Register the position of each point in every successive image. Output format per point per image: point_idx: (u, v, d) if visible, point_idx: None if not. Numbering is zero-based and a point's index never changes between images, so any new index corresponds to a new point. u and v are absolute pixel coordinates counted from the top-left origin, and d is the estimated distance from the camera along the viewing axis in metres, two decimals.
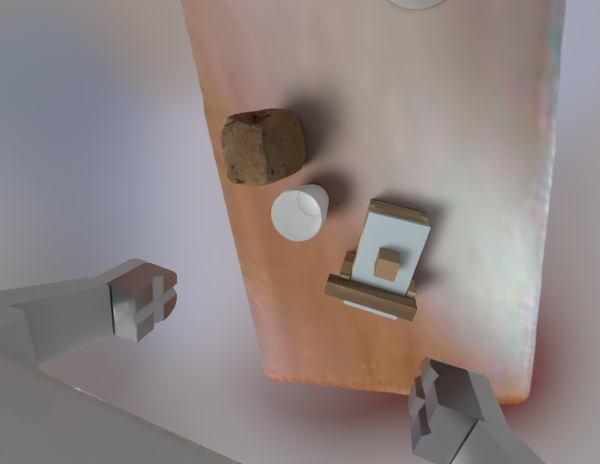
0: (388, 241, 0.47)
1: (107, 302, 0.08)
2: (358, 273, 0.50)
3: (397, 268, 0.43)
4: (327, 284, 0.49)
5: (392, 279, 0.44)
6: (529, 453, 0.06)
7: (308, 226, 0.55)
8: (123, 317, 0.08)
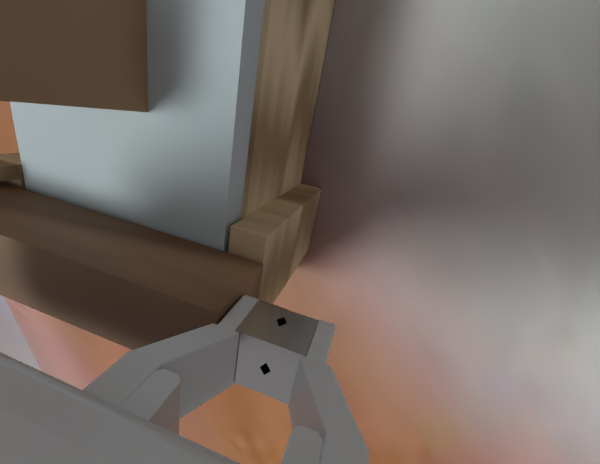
0: None
1: (236, 351, 0.07)
2: (39, 156, 0.12)
3: None
4: None
5: None
6: (329, 379, 0.06)
7: None
8: (249, 366, 0.07)
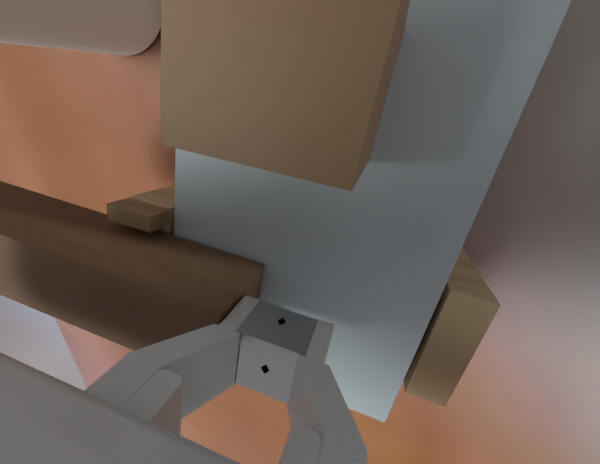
0: None
1: (237, 351, 0.07)
2: (200, 202, 0.10)
3: None
4: None
5: (328, 163, 0.04)
6: (328, 378, 0.06)
7: (63, 46, 0.15)
8: (250, 366, 0.07)
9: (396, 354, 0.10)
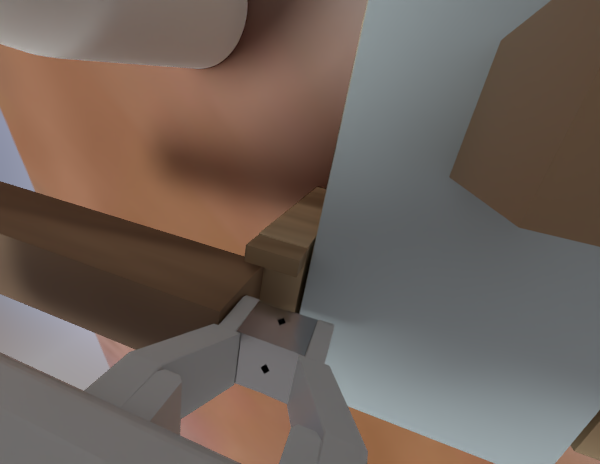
0: None
1: (237, 351, 0.07)
2: (349, 242, 0.09)
3: None
4: None
5: None
6: (328, 378, 0.06)
7: (153, 63, 0.14)
8: (250, 366, 0.07)
9: (572, 412, 0.09)
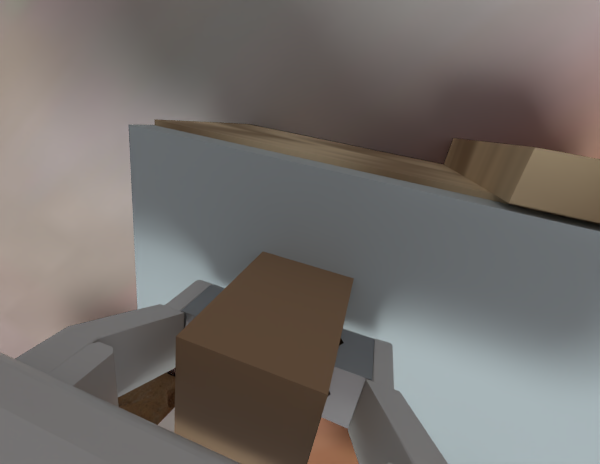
0: None
1: (181, 330, 0.08)
2: None
3: (209, 358, 0.06)
4: None
5: (307, 403, 0.05)
6: (403, 406, 0.06)
7: None
8: None
9: None
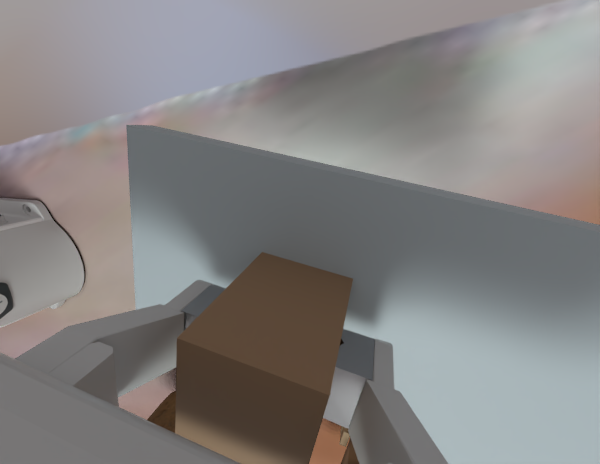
0: None
1: (181, 330, 0.08)
2: None
3: (211, 359, 0.06)
4: None
5: (309, 403, 0.05)
6: (403, 406, 0.06)
7: None
8: None
9: None
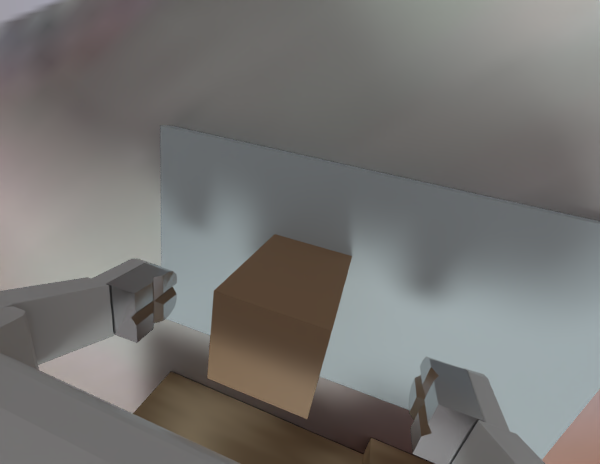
0: None
1: (107, 302, 0.08)
2: (381, 379, 0.12)
3: (240, 307, 0.07)
4: None
5: (316, 339, 0.07)
6: (529, 453, 0.06)
7: None
8: (123, 317, 0.08)
9: (570, 235, 0.09)
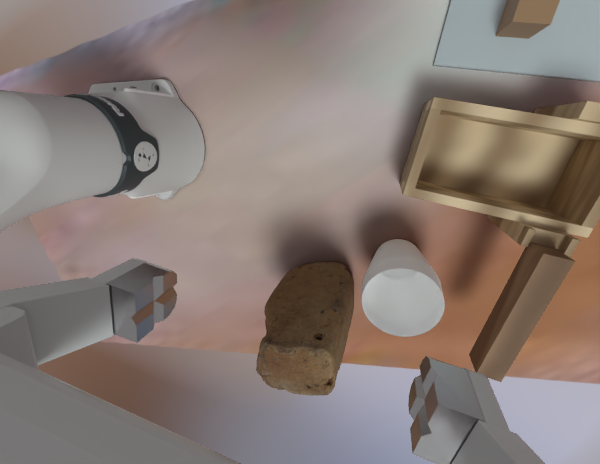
0: (485, 24, 0.31)
1: (107, 302, 0.08)
2: (547, 63, 0.30)
3: None
4: None
5: None
6: (529, 453, 0.06)
7: None
8: (123, 317, 0.08)
9: None
